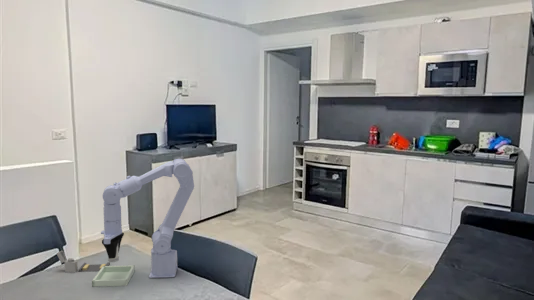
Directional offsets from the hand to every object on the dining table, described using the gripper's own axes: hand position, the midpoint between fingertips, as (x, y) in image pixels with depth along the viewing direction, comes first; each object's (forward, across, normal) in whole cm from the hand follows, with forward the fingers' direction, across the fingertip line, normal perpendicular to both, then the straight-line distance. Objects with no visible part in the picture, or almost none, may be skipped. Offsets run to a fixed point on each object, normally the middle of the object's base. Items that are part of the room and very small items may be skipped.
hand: (113, 255), depth 133 cm
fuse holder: (+9, -9, -10) cm, 16 cm away
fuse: (+2, 0, 0) cm, 2 cm away
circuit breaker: (+9, -7, -19) cm, 22 cm away
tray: (+9, 0, 0) cm, 9 cm away
